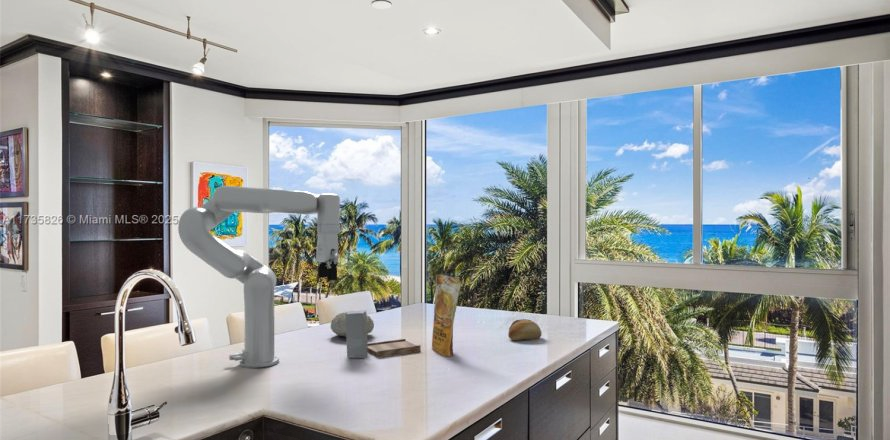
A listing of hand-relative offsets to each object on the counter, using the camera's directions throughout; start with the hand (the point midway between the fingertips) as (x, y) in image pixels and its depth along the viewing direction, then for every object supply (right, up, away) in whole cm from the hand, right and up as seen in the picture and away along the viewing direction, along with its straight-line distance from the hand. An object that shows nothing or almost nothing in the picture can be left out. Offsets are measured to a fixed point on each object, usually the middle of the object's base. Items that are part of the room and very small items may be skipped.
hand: (327, 278), depth 182 cm
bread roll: (+73, -29, +33) cm, 85 cm away
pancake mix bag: (+41, -28, +12) cm, 51 cm away
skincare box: (+9, -28, +5) cm, 30 cm away
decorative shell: (+2, -29, +36) cm, 46 cm away
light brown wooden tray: (+21, -28, +13) cm, 37 cm away
